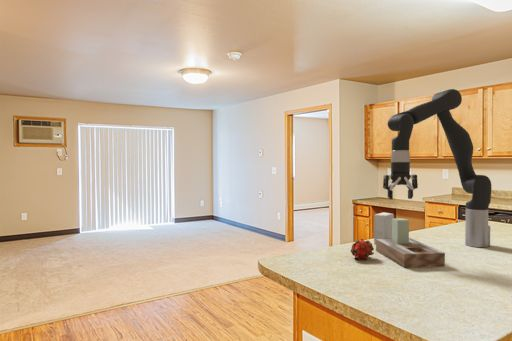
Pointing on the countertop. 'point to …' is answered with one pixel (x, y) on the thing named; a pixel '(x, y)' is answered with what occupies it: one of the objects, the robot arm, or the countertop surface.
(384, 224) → the skincare box
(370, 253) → the dragon fruit
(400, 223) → the square peg
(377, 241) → the block
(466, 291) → the countertop surface
